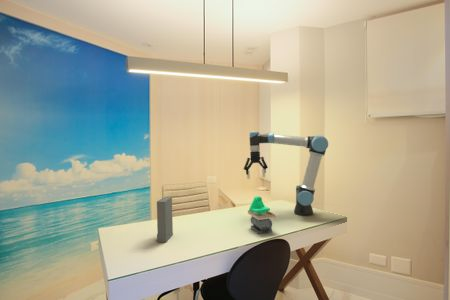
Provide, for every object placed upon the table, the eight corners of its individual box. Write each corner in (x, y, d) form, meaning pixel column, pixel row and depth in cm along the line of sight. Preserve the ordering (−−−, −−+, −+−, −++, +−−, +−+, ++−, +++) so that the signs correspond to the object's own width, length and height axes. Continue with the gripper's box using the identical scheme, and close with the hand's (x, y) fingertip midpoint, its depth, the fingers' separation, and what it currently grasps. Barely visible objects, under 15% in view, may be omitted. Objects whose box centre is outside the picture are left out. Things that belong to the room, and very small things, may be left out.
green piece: (256, 214, 179) (255, 199, 179) (249, 212, 186) (249, 197, 186) (270, 212, 185) (270, 196, 185) (263, 209, 192) (263, 195, 192)
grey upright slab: (163, 234, 180) (163, 196, 179) (173, 234, 179) (172, 196, 178) (156, 242, 166) (155, 201, 165) (166, 242, 165) (165, 201, 164)
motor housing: (263, 225, 195) (263, 208, 194) (275, 232, 180) (275, 214, 179) (248, 227, 191) (247, 210, 190) (258, 235, 176) (258, 216, 175)
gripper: (266, 150, 225) (267, 176, 225) (238, 152, 216) (239, 178, 216) (271, 150, 218) (272, 177, 218) (242, 152, 209) (243, 179, 209)
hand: (256, 178), depth 217 cm, fingers open, 13 cm apart
